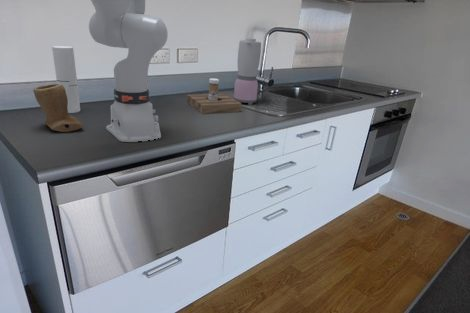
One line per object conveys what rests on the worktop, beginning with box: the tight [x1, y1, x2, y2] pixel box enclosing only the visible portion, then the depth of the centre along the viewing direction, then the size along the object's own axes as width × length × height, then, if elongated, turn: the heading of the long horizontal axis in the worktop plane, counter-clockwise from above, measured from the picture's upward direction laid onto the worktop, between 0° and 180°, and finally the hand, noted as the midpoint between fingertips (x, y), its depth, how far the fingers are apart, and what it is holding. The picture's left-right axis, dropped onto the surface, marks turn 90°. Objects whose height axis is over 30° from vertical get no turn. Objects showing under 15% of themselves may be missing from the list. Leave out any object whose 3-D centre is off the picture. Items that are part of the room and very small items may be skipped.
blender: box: [233, 37, 262, 106], centre depth 164 cm, size 16×12×32 cm
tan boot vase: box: [33, 83, 84, 133], centre depth 109 cm, size 15×12×15 cm
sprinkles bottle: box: [208, 78, 220, 101], centre depth 152 cm, size 5×5×13 cm
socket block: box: [186, 93, 243, 115], centre depth 153 cm, size 20×20×4 cm
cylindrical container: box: [51, 45, 81, 114], centre depth 126 cm, size 7×7×25 cm
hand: (135, 26), depth 132 cm, fingers open, 8 cm apart
